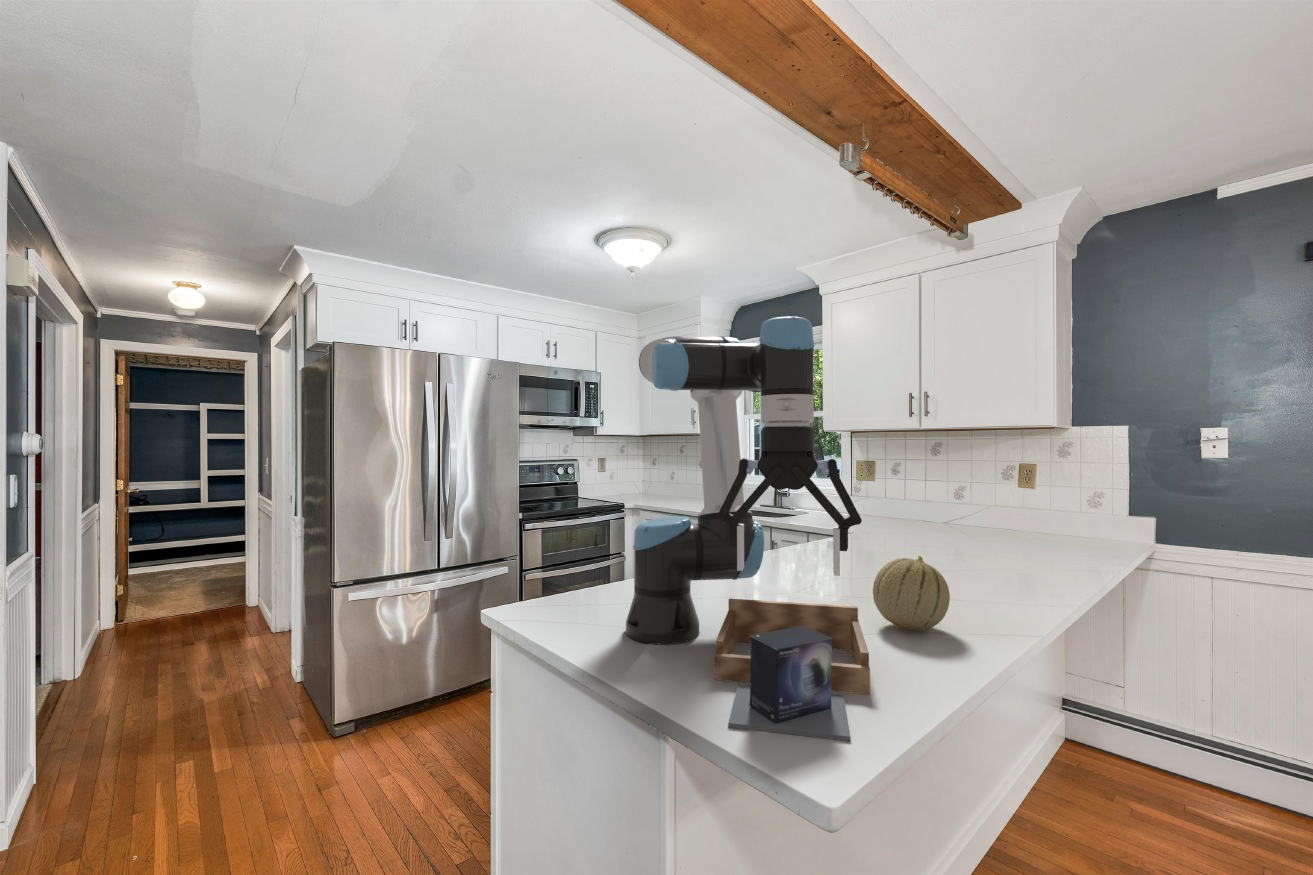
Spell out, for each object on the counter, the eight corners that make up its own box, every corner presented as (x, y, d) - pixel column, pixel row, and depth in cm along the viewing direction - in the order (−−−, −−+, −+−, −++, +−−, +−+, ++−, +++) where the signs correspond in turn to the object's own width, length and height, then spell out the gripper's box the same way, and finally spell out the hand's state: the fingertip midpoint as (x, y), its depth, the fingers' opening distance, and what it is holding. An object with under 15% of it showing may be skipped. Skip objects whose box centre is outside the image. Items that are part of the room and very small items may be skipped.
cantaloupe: (860, 628, 121) (860, 556, 121) (890, 613, 131) (890, 547, 131) (934, 646, 111) (933, 567, 111) (960, 628, 121) (960, 556, 121)
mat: (728, 727, 80) (728, 722, 80) (738, 687, 92) (738, 684, 92) (850, 741, 76) (850, 736, 76) (843, 698, 88) (843, 694, 88)
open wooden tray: (714, 679, 96) (714, 631, 96) (729, 638, 115) (729, 598, 115) (870, 694, 90) (869, 642, 90) (857, 648, 109) (857, 606, 110)
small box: (776, 726, 79) (776, 648, 79) (747, 706, 84) (747, 634, 85) (834, 708, 84) (833, 636, 84) (803, 691, 89) (802, 623, 89)
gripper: (698, 425, 84) (698, 572, 84) (881, 423, 78) (882, 582, 78) (706, 426, 91) (706, 561, 91) (874, 425, 85) (875, 569, 85)
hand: (787, 571), depth 84 cm, fingers open, 13 cm apart
